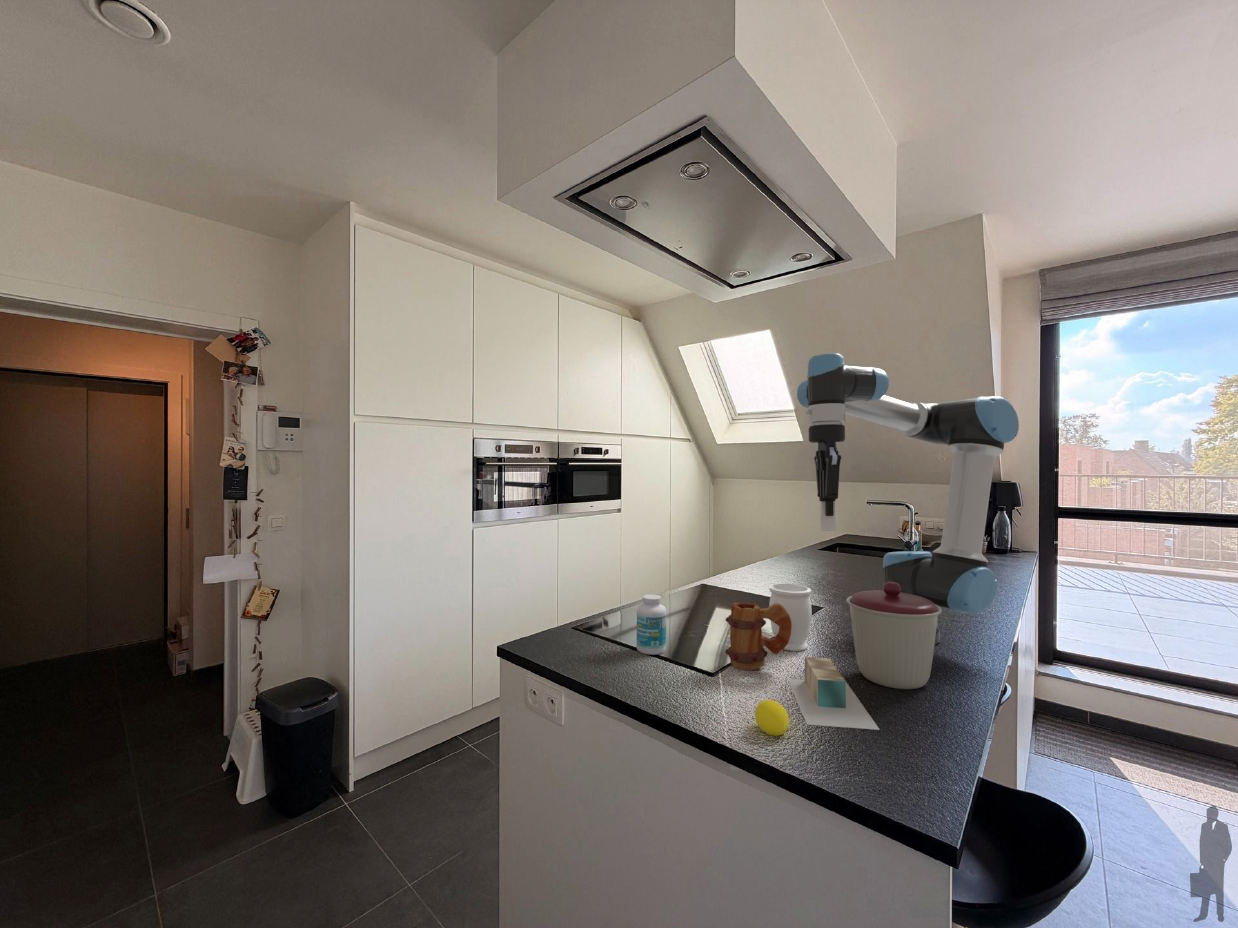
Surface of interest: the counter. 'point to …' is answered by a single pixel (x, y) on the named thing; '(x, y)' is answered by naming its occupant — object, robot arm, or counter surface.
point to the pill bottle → (651, 626)
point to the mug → (755, 634)
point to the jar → (793, 612)
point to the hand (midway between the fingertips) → (828, 530)
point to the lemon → (772, 717)
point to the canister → (894, 636)
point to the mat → (831, 709)
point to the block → (825, 682)
